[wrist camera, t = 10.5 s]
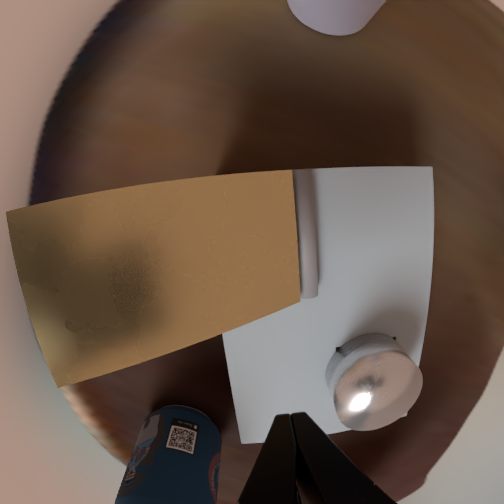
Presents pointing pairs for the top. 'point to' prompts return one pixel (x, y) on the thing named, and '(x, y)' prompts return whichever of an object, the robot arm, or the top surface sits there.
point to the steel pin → (372, 381)
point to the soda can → (173, 460)
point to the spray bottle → (335, 14)
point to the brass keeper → (154, 267)
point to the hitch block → (338, 290)
